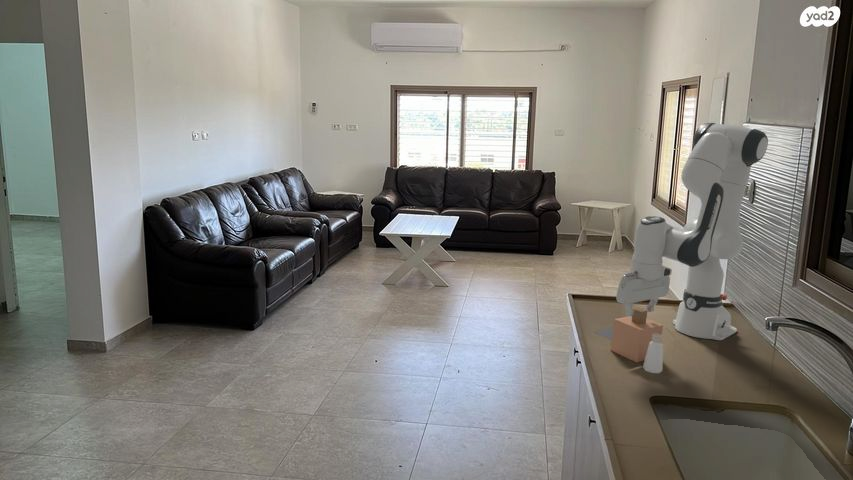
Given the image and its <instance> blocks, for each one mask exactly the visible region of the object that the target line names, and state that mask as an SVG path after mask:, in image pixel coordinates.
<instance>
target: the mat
mask: <svg viewBox="0 0 853 480" xmlns="http://www.w3.org/2000/svg"><path fill="white" fill-rule="evenodd" d="M594 333H595V334H597V335H599V336H602V337H604V338H606V339H608V340H611V341H612V334H613V327H610V328H609V327H608V328H605V329H600V330H596V331H594Z"/></svg>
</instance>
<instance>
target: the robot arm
mask: <svg viewBox="0 0 853 480" xmlns="http://www.w3.org/2000/svg"><path fill="white" fill-rule="evenodd" d="M692 143H693V148H692V150H691V151H690V153H689V156H688V158H687V160H686V162H685V163H684V165H683V169H682V171H681V175H680V176H681V182H682V184H683V186H684V187H685V188H686V189H687V190H688V191H689V192H690V193H692V194H693V195H694V196H695V197H697V198H698V199H699V200H700V203H701V204H700V205H701V206H700V210H699V213H698V218H693V219H690V220H689V221H687V223H686V224H685V225H684V227H683V229H682V228H679V227H677V226H676V227H675V226H673V225H671V224H669V223H667V222H666V218H664V217H661V216H656V215H653V216H650V215H649V216H645V217H642V218H641V219H640V220H638V223H637V225H636V226H637V227H636V230H635V234H634V240H633V254H632V258H631V262H630V263H631V264H630V270H629V272H626V273H624V275H623V276H622V277H621V279H620V280H619V284H618V288H617V291H616V296H615V297H616V298H615V299H616V302H617V303H620V304H623V305H624V307H625V310H626V311H625V315H626V317H627V316H629V317H630V316H633V315H634V310H633V306H634V303H640V302H645V301H649V303H648V304H647V305H646V309H645V310H647V312H649V313H653V312H654V311H655V307H656V305H657V303H658V302H659V298H664V297H667V295H668V293H669V291H670V283H671V275H672V272H673V270H672V268H669V267H668V266H664V265H663V261H664V260H663V258H666V259H670V260H673V261H677V262H679V263H681V264H682V265H683V264H684V265H686V266H688V273H687V281H686V286H685V289H684V291H683V293H682V295H683V296H682V301H681V302H680V303H679V306H678V309H677V313H676V318H675V319H672V323H673V325H674V329H676V331H678V333H679V332H680V333H682V334H683V335H686V336H690V337H694V338H697V339H698V338H699V339H708V340H716V341H723V340H725V339H726V338H729V337H730V336H732V335H733V334H736V333H737V330H738V329H737V328H736V327H735V326H733V325H731V323H732V322H731V321H732V316H731V313H730V312H729V311H728V310H727V309H726V308H725V307H724V306H723V301H724V302H725V301H727V299H728V295H727V294H723V293H722V289H723V282H724V275H725V274H724V270H723V268H722V265H721V261H720V260H733V259H735V258H737V257H738V256H739V255H740V254H741V252H742V250H743V248H744V240H743V237H742V234H741V229H740V217H741V216H740V212H741V206H742V203H743V199H744V196H745V192H746V189H747V186H748V183H749V179H750V176H751V175H750V174H751V170H752V169H751V168H752V166H753V165H754V164H757V163H758V162H760V161H761V160H762V159H763V158H764V156H765V155H766V152H767V150H768V146H769V138H768V136H767V134H766V132H764V131H761V129H760V130H759V129H756V128H753V129H752V128H749V127H745V126H742V125H736V124H732V125H731V124H726V123H725V124H722V123H721V124H720V123H715V122H709V123H708V122H707V123H704V124H701V126H699V127H698V128H697V129H696V131H695V132H694V135H693V141H692Z"/></svg>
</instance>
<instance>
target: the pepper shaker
mask: <svg viewBox="0 0 853 480" xmlns="http://www.w3.org/2000/svg"><path fill="white" fill-rule="evenodd" d="M662 340H663V335H661V334H657V333H654V334H652V341H651V342H650V343H649V346H648V350H647V354H646V357H645V360H644V362H643V366H642V368H643V370H645V372H648V373H650V374H651V373H652V374H660V373H662V372H663V357H664V344H663V343H662Z"/></svg>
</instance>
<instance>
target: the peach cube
mask: <svg viewBox="0 0 853 480" xmlns="http://www.w3.org/2000/svg"><path fill="white" fill-rule="evenodd" d="M632 310H634V315H633V316H630V317H629V316H627V315H626V316H623V317H619V318H614V321H613V327H612V328H613V334H612V340H611V341H610V342H611V344H610V351H612V352H614V353H615V354H618V355H620V356H621V357H624V358H626V359H628V360H631V361H633V362H635V363H639V362H643V361H645V357H646V354H647V350H648V346H649V343H650V342H651V341H652V334H654V333H657V334H661V335H662V334H663V328H664V324H662V323H659V322H658V321H654V320H652V319H649V318H647V317H648V311H647V310H646V309H645V308H641V307H636V308H632ZM662 336H663V335H662Z"/></svg>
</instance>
